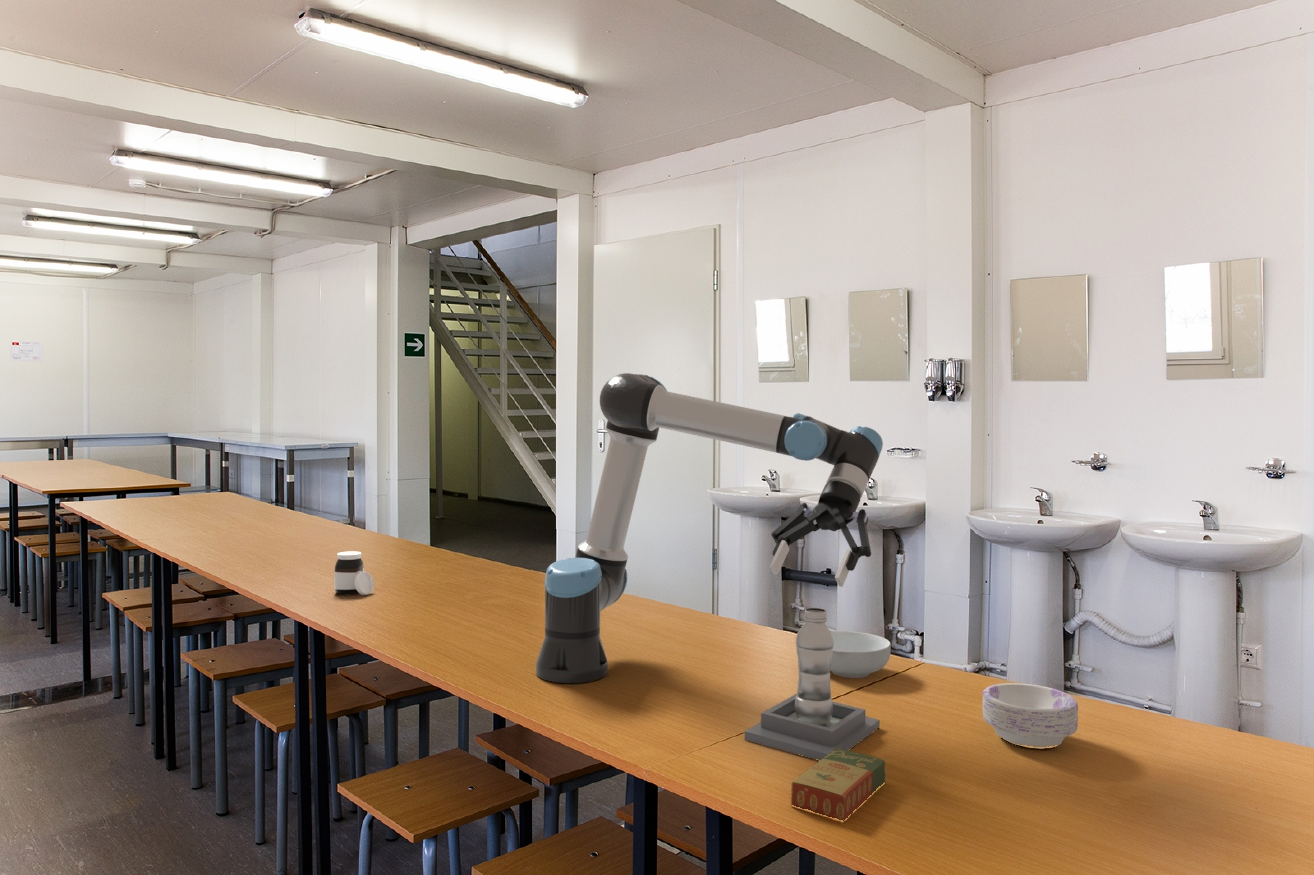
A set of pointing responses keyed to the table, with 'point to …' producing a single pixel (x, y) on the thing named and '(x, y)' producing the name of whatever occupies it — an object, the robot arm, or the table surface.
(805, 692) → the plastic bottle
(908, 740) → the table surface
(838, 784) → the carton
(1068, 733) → the paper bowls
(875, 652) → the cereal bowl
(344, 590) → the spread jar
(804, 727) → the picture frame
